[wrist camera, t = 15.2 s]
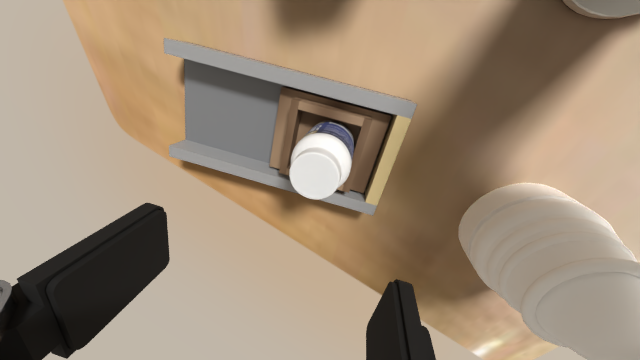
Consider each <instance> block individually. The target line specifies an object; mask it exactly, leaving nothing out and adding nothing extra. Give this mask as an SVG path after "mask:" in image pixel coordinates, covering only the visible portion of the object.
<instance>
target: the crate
mask: <svg viewBox="0 0 640 360" xmlns="http://www.w3.org/2000/svg"><path fill="white" fill-rule="evenodd" d="M390 118H391V115H390V114H388V113H384V112H381V111H377V110H373V109H369V108H366V107H362V106H358V105H354V104H351V103H347V102H343V101H339V100H336V99H332V98H328V97H324V96H320V95H317V94H313V93H309V92H305V91H302V90H298V89H294V88H290V87H287V86H283V87H281V92H280V99H279V105H278V112H277V119H276V125H275V132H274V139H273V145H272V152H271V159H270V165H269V166H270V167H274V168H277V169H280V170H279V173H282V174H285V175H289V171H290V167H291V156H292V152H293V150H294V148H295V146H296V145H297V143H298V142H299V141H300V140H301V139H302V138H303V137H304V136H305V135H306V134H307V133H308V132H309V131H310V130H311V129H312V128H313V127H314V126H315V125H316V124H318V123H320V122H323V121H328V120H332V121H337V122H340V123H342V124H343V125H345V126H346V127H347V128H348V129H349V130H350V132H351V133H352V136H353V139H354V152H353V158H352V166H351V170H350V173H349V176H348V178H347V180H346V181H345V182H344V183H343V184H342V185H341V186H340V187H339V188H337V190H341V191H344V192H348V193H349V191H350V189H351V190H354V191H358V192H361V193H364V191H365V188H366V185H367V183H368V180H369V177H370V174H371V171H372V169H373V166H374V163H375V160H376V157H377V155H378V152H379V149H380V146H381V144H382V141H383V138H384V135H385V132H386V130H387V127H388V124H389V121H390Z"/></svg>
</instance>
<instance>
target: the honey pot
mask: <svg viewBox="0 0 640 360" xmlns="http://www.w3.org/2000/svg"><path fill="white" fill-rule="evenodd" d="M459 240H460V243H461V246H462V248H463V250H464V252H465V253H466V255H467V257H468V259H469V261H470V262H471V264H472V265H473V267H474V269H475V270H476V272H477V274H478V276H479V277H480V278H481V279H482V280H483V282H484V283H485V284H486V285H487V286H488V287H489V288H491V289H492V290H494V291H495V292H497V294H498V295H499V296H500V297H502V298H503V299H505V300H506V302H507V303H508V304H509V305H510V306H511V307H512V308H514V309H515V310H517V311H518V312H520V313H521V315H522V318H523V321H524V323H525V324H526V325H527V327H528V328H529V329H530V330H531V331H532V332H533V333H534V334H536V335H537V336H539V337H540V338H542V339H543V340H545V341H547V342H550V343H553V344H555V345H558V346H563V347H568V348H570V349H572V350H573V351H575V352H576V353H578V354H579V355H581V356H582V357H584V358H586V359H587V360H640V263H638V262H637V260H636V258H635V256H634V255H633V253H632V251H631V250H630V249H628V248H627V247H626V246H624V244H623V242H622V241H621V239H620V238H619V237H618V236H617V235H616V233H615V231H614V230H613V228H612V226H611V225H610V224H609V223H608V222H607V221H606V220H605V219H604V218H602V217H601V216H600V215H598V214H597V213H596V212H594V211H592V210H590V209H589V208H587V207H586V206H584V205H582V204H581V203H579V202H578V201H576V200H574V199H573V198H571V197H569V196H568V195H566V194H564V193H563V192H561V191H559V190H557V189H555V188H552V187H549V186H547V185H544V184H536V183H519V184H510V185H507V186H504V187H500V188H497V189H494V190H493V191H491V192H489V193H487V194H485V195H483V196H481V197H480V198H479V199H478V200H477V201H475V202H474V203H473V204H472V205H471V206H470V207H469V208H468V210H467V211H466V212H465V214H464V215H463V217H462V219H461V222H460V225H459Z"/></svg>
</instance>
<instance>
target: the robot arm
mask: <svg viewBox="0 0 640 360" xmlns="http://www.w3.org/2000/svg"><path fill="white" fill-rule="evenodd" d="M562 1H563V2H564V3H565V4H566V5H567V6H568V7H570V8H571V9H572V10H574V11H575V12H577V13H579V14H582V15H585V16H587V17H591V18H599V19H612V18H622V17H626V16H631V15H636V14H640V0H562ZM168 263H169V245H168V230H167V215H166V212H164V209H163V208H162V207H160V206H157V205H154V204H151V203H145V204H143V205H141V206H139V207H138V208H136V209H134V210H133V211H131V212H129V213H127V214H126V215H124V216H122V217H121V218H119V219H117V220H115V221H114V222H112V223H110V224H109V225H107V226H105V227H104V228H103V229H100V230H99V231H97V232H95V233H93V234H92V235H90V236H88V237H87V238H85V239H84V240H82V241H80V242H78V243H77V244H75V245H73V246H71V247H70V248H68V249H66V250H65V251H63V252H61V253H60V254H58V255H56V256H55V257H53V258H51V259H49V260H48V261H46V262H45V263H43V264H41V265H39V266H38V267H36V268H34V269H32V270H31V271H29V272H27V273H26V274H24V275H22V276H21V277H19V278H17V280H18V282H19V283H17V284H15V285H14V286H12V287H11V285H10V283H8V282H6V281H4V280H0V360H42V359H43V358H44V357H45V356H46V355H47V354H49V353H50V352H52V353H53V354H55V355H58V356H61V357H64V358H68V357H69V356H70V355H71V354H73V352H75V351H76V350H79V349H81V348H83V347H84V346H85V345H87V344H88V343H89V342H90V341H91V340H92V339H93V338H94V337H95V336H96V335H97V334H98V333H99V332H100V331H101V330H102V329H103V328H104V327H105V326H106V325H107V324H108V323H109V322H110V321H111V320H112V319H113V318H114V317H115V316H116V315H117V314H118V313H119V312H120V311H122V309H124V308H125V307H126V306H127V305H128V304H129V302H131V301H132V300H133V299H134V298H135V297H136V296H137V295H138V294H139V293H140V292H141V291H142V290H143V289H144V288H145V287H146V286H147V285H148V284H149V283H150V282H151V281H152V280H153V279H154V278H155V277H157V275H159V274H160V272H162V271H163V270H164V269H165V268H166V266H167V265H168ZM366 360H436V358H435V354H434V350H433V346H432V342H431V338H430V334H429V331H428V330H427V328H426V327H424V326H422V325H421V321H420V317H419V312H418V308H417V303H416V299H415V294H414V290H413V286H412V284H410V283H407V282H404V281H400V280H397V279H396V280H395V281H394V282H389V284H388V286H387V288H386V289H385V291H384V293H383V295H382V297H381V299H380V301H379V303H378V305H377V307H376V309H375V311H374V313H373V315H372V317H371V319H370V321H369V323H368V326H367V331H366Z"/></svg>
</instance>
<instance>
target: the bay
mask: <svg viewBox="0 0 640 360" xmlns="http://www.w3.org/2000/svg"><path fill="white" fill-rule="evenodd" d="M164 53H166V54H169V55H173V56H177V57H181V58H184V72H185V133H186V140H183V141H180V142H178V143H175V144H172V145H170V146H169V156H170V157H174V158H177V159H181V160H184V161H188V162H191V163H194V164H198V165H201V166H205V167H208V168H212V169H215V170H218V171H222V172H225V173H229V174H232V175H236V176H239V177H242V178H246V179H249V180H253V181H256V182H260V183H263V184H267V185H270V186H273V187H277V188H280V189H284V190H287V191H291V192H294V193H297V194H299V193H298V192H297V191H296V190H295V189H294V187H293V186H292V184H291V181H290V176H289V175H285V174H282V173H279V170H280V169H277V168H274V167H270V166H269V165H270V159H271V152H272V145H273V139H274V132H275V125H276V119H277V112H278V105H279V99H280V92H281V87H283V86H287V87H290V88H294V89H298V90H302V91H305V92H309V93H313V94H317V95H320V96H324V97H328V98H332V99H336V100H339V101H343V102H347V103H351V104H354V105H358V106H362V107H366V108H369V109H373V110H377V111H381V112H384V113H388V114H390V115H391V118H390V121H389V124H388V127H387V130H386V132H385V135H384V138H383V141H382V144H381V146H380V149H379V152H378V155H377V157H376V160H375V163H374V166H373V169H372V171H371V174H370V177H369V180H368V183H367V185H366V188H365V191H364V193H361V192H358V191H354V190H351V189H350V191H349V193H348V192H344V191H341V190H337V189H336V191H335V192H334V193H333V194H332V195H330V196H329V197H327V198H324V199H318V200H321V201H325V202H328V203H332V204H335V205H339V206H342V207H345V208H349V209H352V210H356V211H359V212H363V213H366V214H370V215H374V212H375V209H376V207H377V204H378V202H379V199H380V197H381V194H382V192H383V189H384V187H385V184H386V182H387V179H388V177H389V174H390V172H391V169H392V167H393V164H394V162H395V159H396V157H397V154H398V152H399V149H400V147H401V144H402V141H403V139H404V136H405V134H406V131H407V129H408V126H409V124H410V121H411V119H412V116H413V114H414V111H415V109H416V106H417V104H416V103H414V102H412V101H410V100H407V99H403V98H399V97H395V96H392V95H388V94H384V93H380V92H376V91H373V90H369V89H365V88H361V87H357V86H353V85H350V84H346V83H342V82H338V81H334V80H331V79H327V78H323V77H319V76H315V75H311V74H308V73H304V72H300V71H296V70H292V69H289V68H285V67H281V66H277V65H273V64H269V63H266V62H262V61H258V60H254V59H250V58H247V57H243V56H239V55H235V54H231V53H227V52H224V51H220V50H216V49H212V48H208V47H205V46H201V45H197V44H193V43H189V42H184V41H178V40H173V39H167V38H164Z"/></svg>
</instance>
